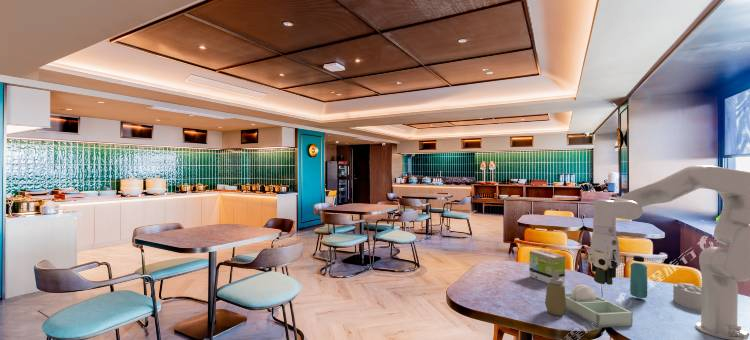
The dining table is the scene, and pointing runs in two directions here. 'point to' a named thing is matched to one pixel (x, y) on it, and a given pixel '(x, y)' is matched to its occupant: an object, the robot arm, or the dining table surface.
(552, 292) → the squeeze bottle
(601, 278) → the character mug
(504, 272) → the dining table surface
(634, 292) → the beverage bottle
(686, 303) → the lumpy-topped squat cylinder
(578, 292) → the racked plates
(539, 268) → the tea box
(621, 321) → the dish rack
